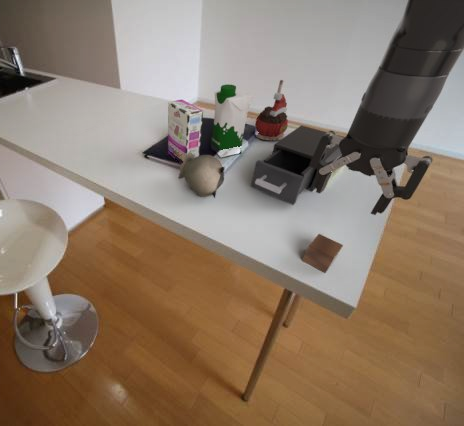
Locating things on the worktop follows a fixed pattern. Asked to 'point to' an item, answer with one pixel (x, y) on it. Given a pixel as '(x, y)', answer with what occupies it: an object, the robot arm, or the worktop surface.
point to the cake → (273, 118)
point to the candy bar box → (184, 128)
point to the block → (322, 253)
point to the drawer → (283, 175)
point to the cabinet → (306, 146)
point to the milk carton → (230, 116)
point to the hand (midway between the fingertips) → (345, 201)
